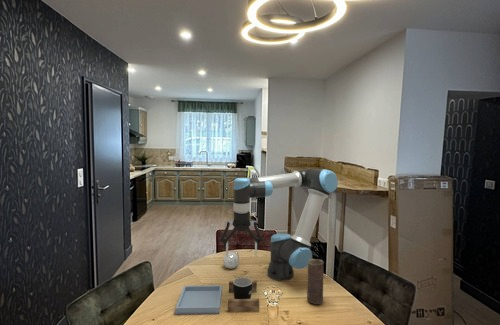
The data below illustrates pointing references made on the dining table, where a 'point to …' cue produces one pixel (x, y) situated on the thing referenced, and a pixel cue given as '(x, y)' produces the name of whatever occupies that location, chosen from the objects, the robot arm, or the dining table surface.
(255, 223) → the robot arm
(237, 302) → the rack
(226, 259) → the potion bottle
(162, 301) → the dining table surface
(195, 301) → the tray
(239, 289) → the mug
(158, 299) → the dining table surface
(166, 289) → the dining table surface
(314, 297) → the candle
